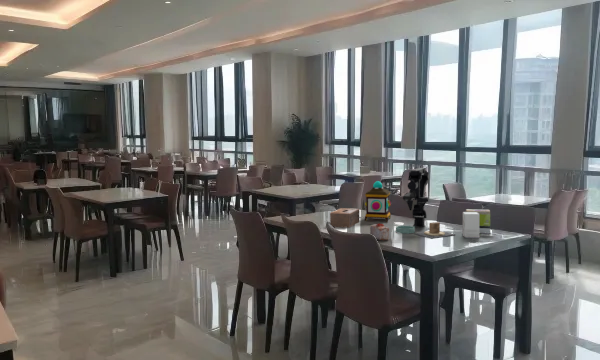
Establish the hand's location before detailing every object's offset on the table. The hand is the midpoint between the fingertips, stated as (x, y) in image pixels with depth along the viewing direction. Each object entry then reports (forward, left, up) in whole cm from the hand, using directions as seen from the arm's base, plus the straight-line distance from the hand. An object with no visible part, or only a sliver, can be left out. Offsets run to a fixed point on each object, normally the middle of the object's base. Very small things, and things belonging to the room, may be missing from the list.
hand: (415, 211), depth 328 cm
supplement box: (-15, +35, -13) cm, 40 cm away
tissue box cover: (+28, -44, -13) cm, 54 cm away
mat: (+1, +20, -13) cm, 24 cm away
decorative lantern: (-3, -46, -13) cm, 48 cm away
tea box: (-29, +28, -13) cm, 42 cm away
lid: (+1, +20, -12) cm, 23 cm away
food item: (+39, +12, -13) cm, 43 cm away
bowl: (+10, +2, -13) cm, 16 cm away
